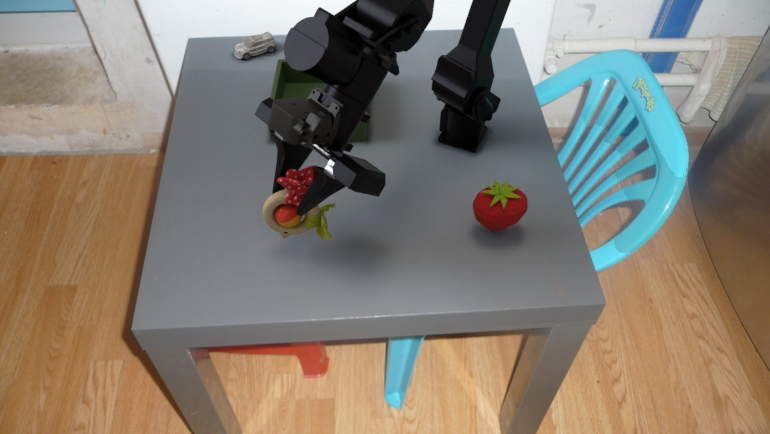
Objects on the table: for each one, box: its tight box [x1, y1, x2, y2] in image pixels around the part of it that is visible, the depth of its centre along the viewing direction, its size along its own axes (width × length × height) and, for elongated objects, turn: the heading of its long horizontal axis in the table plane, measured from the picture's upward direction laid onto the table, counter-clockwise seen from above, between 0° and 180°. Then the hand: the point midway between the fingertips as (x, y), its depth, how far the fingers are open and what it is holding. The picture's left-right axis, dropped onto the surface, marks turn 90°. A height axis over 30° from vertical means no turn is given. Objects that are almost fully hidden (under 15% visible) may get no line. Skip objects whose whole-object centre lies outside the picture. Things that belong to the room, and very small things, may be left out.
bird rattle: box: [262, 165, 337, 242], centre depth 75 cm, size 6×11×9 cm
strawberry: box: [471, 178, 529, 233], centre depth 79 cm, size 6×8×10 cm
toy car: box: [233, 31, 278, 61], centre depth 111 cm, size 4×8×3 cm, turn 118°
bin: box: [267, 58, 369, 142], centre depth 98 cm, size 16×16×5 cm
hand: (286, 204), depth 73 cm, fingers closed on bird rattle, 4 cm apart
